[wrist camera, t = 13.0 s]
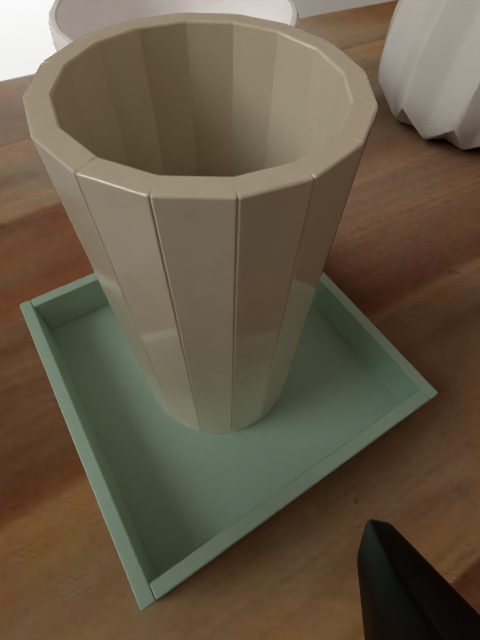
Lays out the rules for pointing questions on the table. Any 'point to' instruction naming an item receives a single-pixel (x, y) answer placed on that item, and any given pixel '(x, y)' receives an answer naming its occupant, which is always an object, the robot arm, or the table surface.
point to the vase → (434, 69)
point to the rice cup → (204, 192)
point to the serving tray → (205, 448)
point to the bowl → (152, 13)
